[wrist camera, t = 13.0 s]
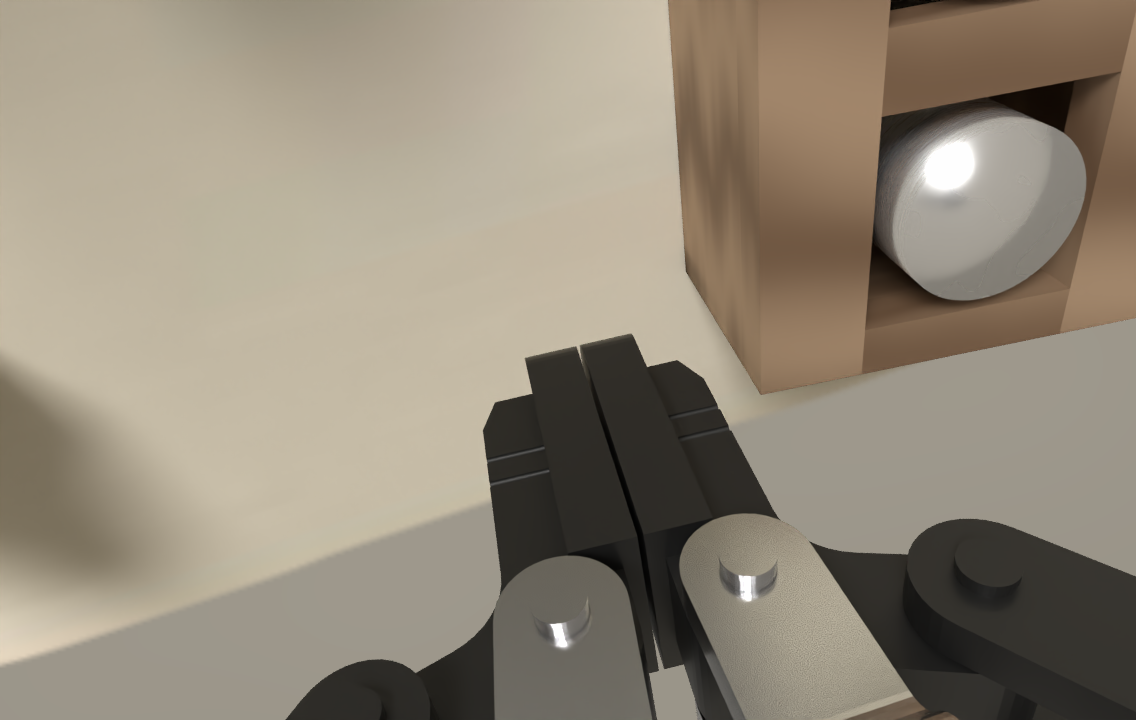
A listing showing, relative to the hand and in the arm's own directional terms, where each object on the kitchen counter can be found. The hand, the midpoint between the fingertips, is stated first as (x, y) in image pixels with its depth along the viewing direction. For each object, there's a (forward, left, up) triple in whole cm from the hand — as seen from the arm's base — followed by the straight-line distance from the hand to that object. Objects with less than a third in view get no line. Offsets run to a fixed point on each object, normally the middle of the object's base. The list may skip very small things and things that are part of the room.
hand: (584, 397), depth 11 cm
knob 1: (+3, +12, -13) cm, 18 cm away
